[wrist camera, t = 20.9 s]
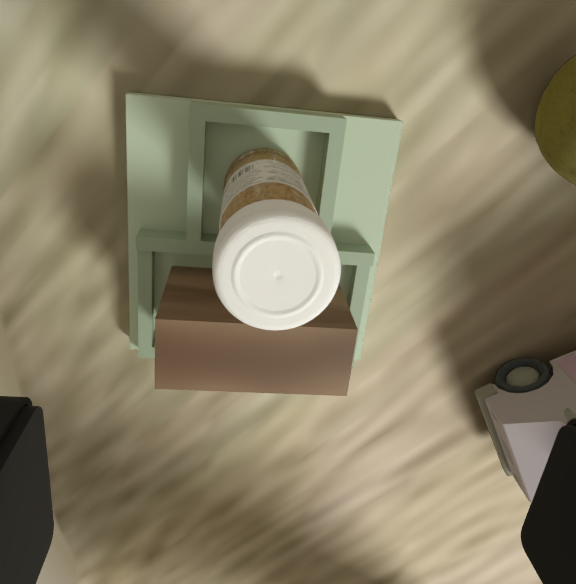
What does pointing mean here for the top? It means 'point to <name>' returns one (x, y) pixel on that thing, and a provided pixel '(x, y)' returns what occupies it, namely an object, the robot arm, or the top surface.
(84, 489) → the top surface
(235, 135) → the jig
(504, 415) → the toy vehicle
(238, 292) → the sprinkles bottle
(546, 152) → the apple
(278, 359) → the brown cuboid brick
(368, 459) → the top surface
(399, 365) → the top surface
